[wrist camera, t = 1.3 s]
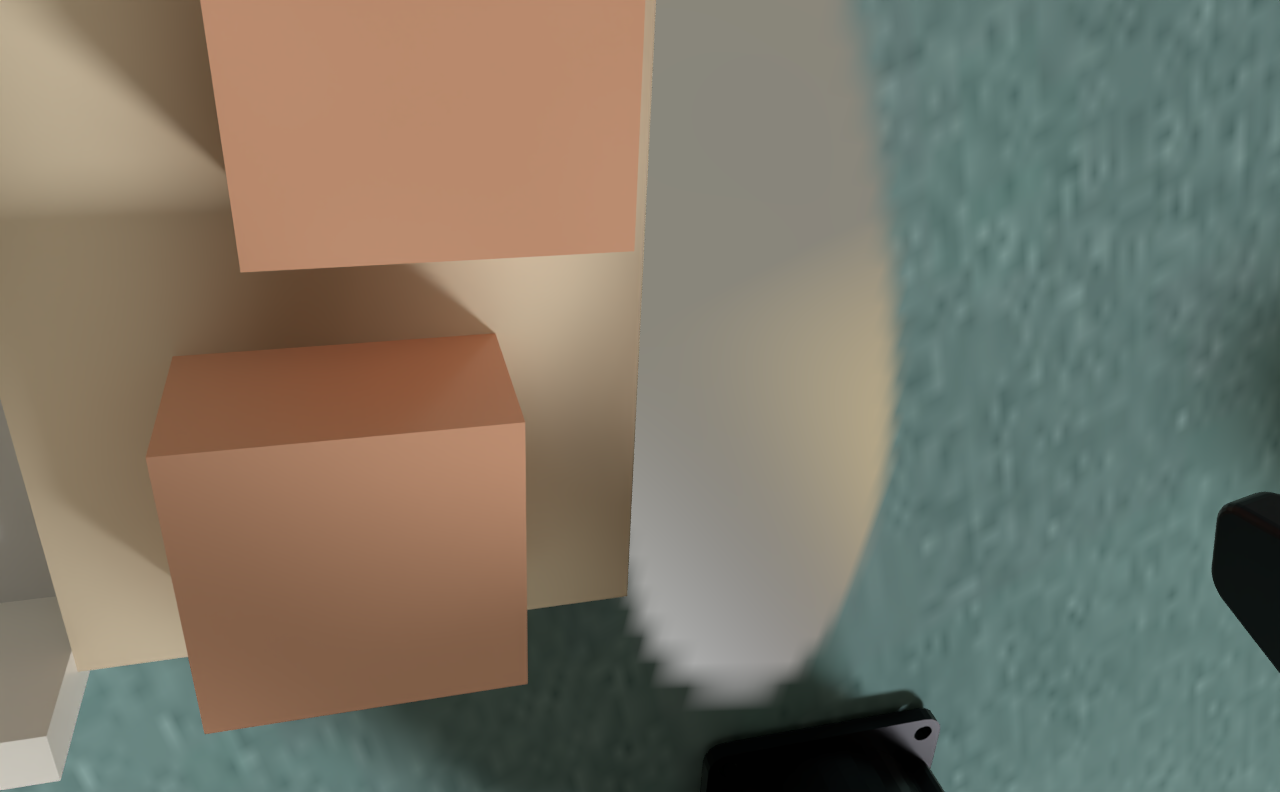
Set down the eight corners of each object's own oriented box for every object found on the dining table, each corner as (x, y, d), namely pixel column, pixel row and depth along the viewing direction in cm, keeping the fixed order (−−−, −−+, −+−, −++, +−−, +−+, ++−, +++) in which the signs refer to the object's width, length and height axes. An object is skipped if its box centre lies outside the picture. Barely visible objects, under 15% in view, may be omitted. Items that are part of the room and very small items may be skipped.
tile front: (593, -175, 14) (653, -172, 12) (586, 183, 17) (634, 251, 14) (200, -195, 13) (171, -196, 10) (253, 196, 15) (240, 272, 13)
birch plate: (632, -289, 15) (671, -301, 14) (603, 537, 23) (626, 596, 21) (-149, -350, 13) (-219, -374, 11) (97, 599, 20) (77, 671, 18)
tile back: (495, 333, 17) (525, 421, 15) (501, 572, 20) (527, 683, 17) (172, 355, 16) (145, 457, 14) (219, 608, 19) (204, 734, 16)
